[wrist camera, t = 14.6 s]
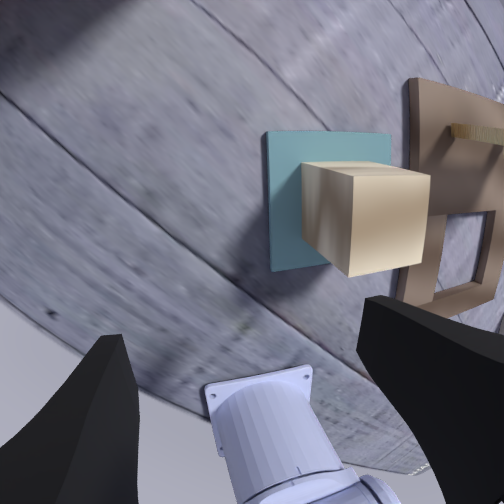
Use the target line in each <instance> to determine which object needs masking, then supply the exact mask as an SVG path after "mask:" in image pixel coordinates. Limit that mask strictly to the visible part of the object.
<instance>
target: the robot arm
mask: <svg viewBox="0 0 504 504" xmlns="http://www.w3.org/2000/svg"><path fill="white" fill-rule="evenodd" d="M356 351H357V353H358V355H359V357H360V359H361V361H362V363H363V365H364V366H365V368H366V370H367V371H368V373H369V375H370V376H371V378H372V379H373V380H374V382H375V383H376V384H377V386H378V387H379V388H380V390H381V391H382V392H383V393H384V395H385V396H386V397H387V399H388V400H389V401H390V402H391V404H392V405H393V406H394V408H395V409H396V410H397V412H398V413H399V414H400V415H401V417H402V418H403V419H404V421H405V422H406V423H407V425H408V426H409V428H410V429H411V431H412V432H413V434H414V436H415V438H416V439H417V441H418V443H419V445H420V446H421V448H422V450H423V452H424V454H425V456H426V458H427V460H428V462H429V464H430V466H431V468H432V469H433V472H434V474H435V476H436V479H437V481H438V483H439V486H440V488H441V491H442V493H443V496H444V499H445V502H446V504H499V503H500V502H501V501H502V502H503V503H504V335H502V334H497V333H493V332H489V331H485V330H481V329H478V328H474V327H471V326H468V325H465V324H462V323H459V322H456V321H453V320H450V319H447V318H445V317H442V316H439V315H437V314H434V313H431V312H429V311H426V310H423V309H421V308H418V307H416V306H413V305H410V304H408V303H405V302H402V301H399V300H396V299H393V298H390V297H387V296H383V295H379V296H374V297H369V298H365V303H364V309H363V315H362V321H361V327H360V332H359V338H358V343H357V348H356ZM312 372H313V369H312V367H311V366H310V365H308V364H307V365H302V366H298V367H293V368H289V369H285V370H280V371H275V372H271V373H266V374H261V375H256V376H251V377H246V378H240V379H235V380H229V381H223V382H217V383H211V384H208V385H206V386H205V388H204V390H205V395H206V400H207V405H208V410H209V415H210V419H211V424H212V428H213V433H214V437H215V442H216V446H217V451H218V454H219V456H220V457H225V459H226V463H227V467H228V471H229V475H230V479H231V482H232V486H233V490H234V493H235V497H236V500H237V504H401V502H400V501H399V499H398V498H397V496H396V494H395V493H394V492H393V490H392V489H391V488H390V487H389V486H388V485H387V484H386V483H385V482H384V481H383V480H381V479H379V478H375V477H373V476H371V475H363V476H361V477H359V478H358V476H357V474H356V472H355V471H354V469H353V467H349V468H346V469H345V468H344V466H343V464H342V462H341V461H340V459H339V457H338V455H337V453H336V452H335V450H334V448H333V446H332V444H331V443H330V441H329V439H328V437H327V435H326V434H325V432H324V430H323V428H322V426H321V425H320V423H319V421H318V419H317V417H316V415H315V414H314V412H313V410H312V408H311V406H310V404H309V401H310V392H311V382H312ZM305 375H306V376H305ZM211 394H214V395H211ZM139 422H140V415H139V397H138V387H137V383H136V380H135V377H134V374H133V371H132V368H131V364H130V361H129V358H128V354H127V351H126V347H125V344H124V340H123V337H122V334H116V335H104V336H100V338H99V339H98V340H97V341H96V343H95V344H94V345H93V346H92V348H91V349H90V350H89V352H88V353H87V354H86V355H85V357H84V358H83V359H82V361H81V362H80V363H79V365H78V366H77V367H76V368H75V370H74V371H73V372H72V373H71V375H70V376H69V377H68V379H67V380H66V381H65V383H64V384H63V385H62V386H61V387H60V388H59V390H58V391H57V392H56V393H55V394H54V395H53V397H51V399H50V400H49V401H48V402H47V403H46V405H45V406H44V407H43V408H42V409H41V410H40V411H39V412H38V414H36V415H35V416H34V418H33V419H32V420H31V421H30V422H29V423H28V424H26V426H25V427H23V428H22V429H21V430H20V431H19V432H18V433H17V434H16V435H15V436H14V437H13V438H11V439H10V440H9V441H8V442H7V443H5V444H4V445H3V446H2V447H1V448H0V504H139V503H138V491H137V468H138V443H139V442H138V441H139Z"/></svg>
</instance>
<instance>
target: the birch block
mask: <svg viewBox="0 0 504 504" xmlns="http://www.w3.org/2000/svg"><path fill="white" fill-rule="evenodd" d="M430 177H431V175H427V174H423V173H419V172H415V171H411V170H406V169H402V168H398V167H393V166H389V165H384V164H380V163H375V162H370V161H328V162H301V179H302V239H303V240H304V241H305V242H307V243H308V244H309V245H310V246H311V247H313V248H314V249H315V250H316V251H318V252H319V253H320V254H321V255H322V256H323V257H325V258H326V259H327V260H328V261H329V262H331V263H332V264H333V265H334V266H335V267H337V268H338V269H339V270H340V271H341V272H342V273H344V274H345V275H346V276H347V277H348V278H349V277H354V276H359V275H364V274H370V273H375V272H380V271H385V270H390V269H394V268H399V267H404V266H409V265H414V264H418V263H421V261H422V254H423V247H424V240H425V232H426V224H427V214H428V204H429V192H430Z"/></svg>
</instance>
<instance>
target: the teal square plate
mask: <svg viewBox="0 0 504 504" xmlns="http://www.w3.org/2000/svg"><path fill="white" fill-rule="evenodd" d="M266 143H267V170H268V202H269V238H270V270H271V271H272V272H277V271H284V270H290V269H297V268H303V267H310V266H316V265H323V264H329V263H331V262H329V261H328V260H327V259H326V258H325V257H323V256H322V255H321V254H320V253H319V252H318V251H316V250H315V249H314V248H313V247H311V246H310V245H309V244H308V243H307V242H305V241H304V240H303V239H302V179H301V162H328V161H370V162H375V163H380V164H384V165H389V166H391V134H378V133H361V132H334V131H271V132H266Z"/></svg>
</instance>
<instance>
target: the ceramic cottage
mask: <svg viewBox="0 0 504 504" xmlns="http://www.w3.org/2000/svg"><path fill="white" fill-rule="evenodd" d="M499 334H502V335H504V316H503V319H502V322H501V326H500V331H499Z"/></svg>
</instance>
